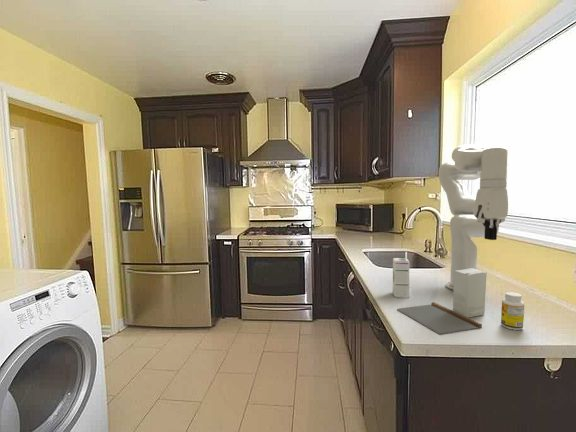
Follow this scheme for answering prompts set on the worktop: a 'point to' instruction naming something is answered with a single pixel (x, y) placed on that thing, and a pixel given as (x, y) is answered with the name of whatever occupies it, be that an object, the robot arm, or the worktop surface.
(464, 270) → the skincare box
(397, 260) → the syrup box
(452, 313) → the rail
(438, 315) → the mat
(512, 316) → the supplement bottle
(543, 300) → the worktop surface
